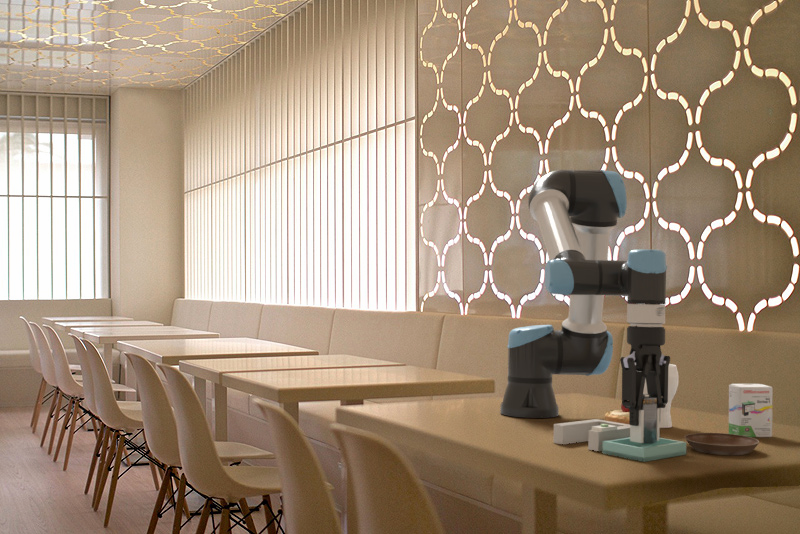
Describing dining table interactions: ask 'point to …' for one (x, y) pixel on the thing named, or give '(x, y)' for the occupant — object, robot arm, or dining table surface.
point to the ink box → (750, 410)
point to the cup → (672, 388)
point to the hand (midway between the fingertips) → (644, 440)
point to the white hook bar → (590, 432)
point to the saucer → (721, 443)
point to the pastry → (618, 415)
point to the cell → (649, 418)
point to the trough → (644, 449)
